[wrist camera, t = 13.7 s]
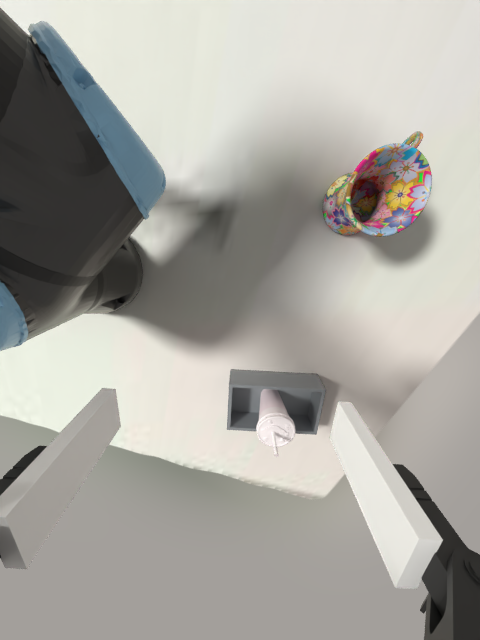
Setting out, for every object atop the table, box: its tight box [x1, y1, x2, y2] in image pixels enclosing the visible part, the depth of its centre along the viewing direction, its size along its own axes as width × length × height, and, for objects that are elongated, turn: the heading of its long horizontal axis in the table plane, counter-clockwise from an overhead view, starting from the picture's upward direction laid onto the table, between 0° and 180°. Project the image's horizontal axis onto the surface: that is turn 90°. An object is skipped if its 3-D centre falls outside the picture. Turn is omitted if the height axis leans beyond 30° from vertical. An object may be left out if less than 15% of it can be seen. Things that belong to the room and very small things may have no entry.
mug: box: [323, 131, 432, 237], centre depth 30 cm, size 12×9×11 cm
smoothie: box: [256, 389, 295, 457], centre depth 40 cm, size 6×6×14 cm
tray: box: [227, 369, 326, 434], centre depth 45 cm, size 17×10×5 cm, turn 87°
